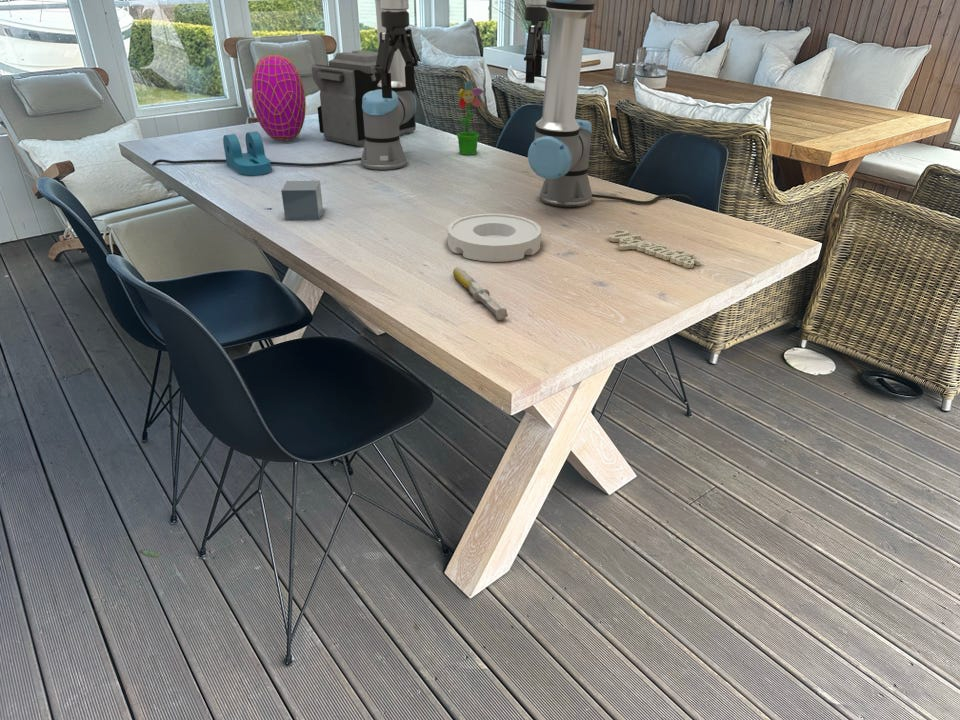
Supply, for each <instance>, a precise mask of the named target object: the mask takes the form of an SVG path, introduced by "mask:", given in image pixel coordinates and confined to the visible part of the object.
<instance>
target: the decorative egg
mask: <svg viewBox="0 0 960 720" xmlns="http://www.w3.org/2000/svg"><path fill="white" fill-rule="evenodd" d="M253 70H254V71H253V73H252V77H251V101H252V107H253V110H254V114H255V116H256V118H257V121H258V123H259V125H260V127H261V128H262V130H263V131H264V133H266V135H267V136H268V137H270V138H271V139H273V140H275V141H282V142H286V141H291V140H293V139H296V138H297V137H298V136H299V134H301V131H302V129H303V127H304V123H305V118H306V104H307V103H306V102H307V101H306V99H307V97H306V93H305V88H304V84H303V81H302V77H301V75H300V73H299V71H298V69H297V67H296V66H295V65H294V63H293V62H292V61H291V60H290V59H288V58H287V57H285V56H282V55H280V54H268V55H265V56H262V57H261V58H260V59H259V60H258V61H257V62H256V65H255V68H254V69H253Z"/></svg>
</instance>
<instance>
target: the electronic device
mask: <svg viewBox="0 0 960 720" xmlns="http://www.w3.org/2000/svg"><path fill="white" fill-rule="evenodd" d="M377 55H378V51H369V50H362V49H359V50H352V51H351V52H348V51H347V52H345V51H343V52H336V53H335V55H334V58H332V59H330V60H328V65H324V64H311V75H312V79H313V81H314V83H315V85H316V87H318V89H319V91H320V92H319V100H320V106H317V117H318V127H319V133H320V134H323V137H324V139H325V140H328V141H332V142H337V143H342V144H346V145H351V146H356V147H364V145H365V132H364V119H363V109H362V103H363V102H362V99H363V96H364V95H365V94H366V93H367V92H369V91H375V90H378V89H377V84H378V83H379V81H380V80H381V73H377V71H376V70H375V67H376V61H377ZM405 65H406V63H405ZM406 66H407V65H406ZM415 92H416V90H415V91H412V93H413V94H414V96H415V97H416V93H415ZM416 118H417V117H416V112H415V113H414V115H413V116H412V118H411V119H410V120H409V121H408V122H406V123H404V124H402V125H400V126H399V134H400V137H401V136H403V135H404V134H408V135H409V134H412V133H414V132H416V128H417V121H416Z"/></svg>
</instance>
